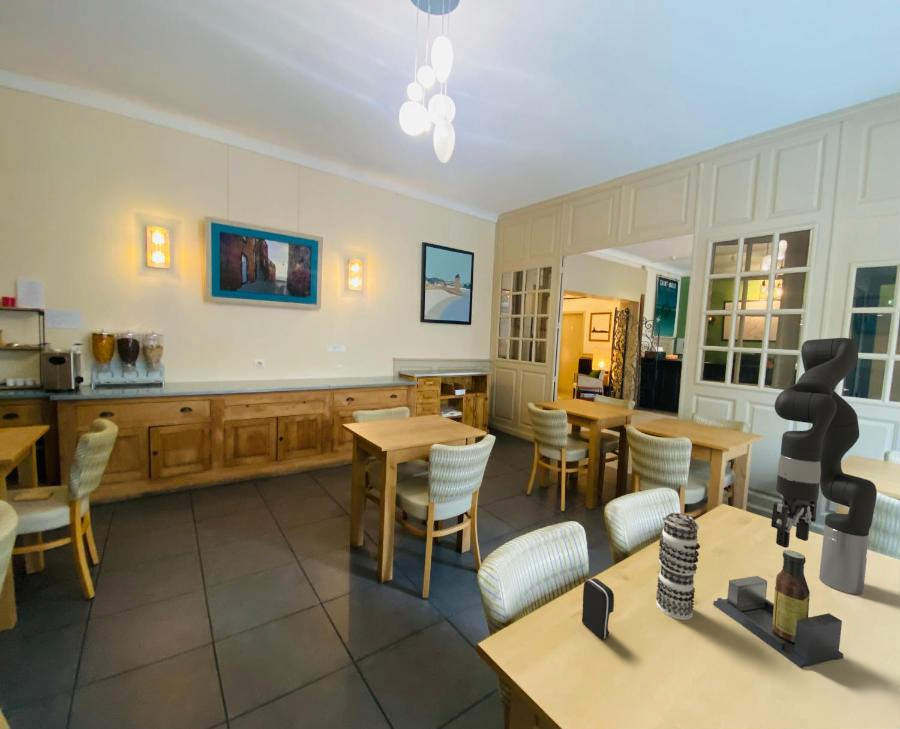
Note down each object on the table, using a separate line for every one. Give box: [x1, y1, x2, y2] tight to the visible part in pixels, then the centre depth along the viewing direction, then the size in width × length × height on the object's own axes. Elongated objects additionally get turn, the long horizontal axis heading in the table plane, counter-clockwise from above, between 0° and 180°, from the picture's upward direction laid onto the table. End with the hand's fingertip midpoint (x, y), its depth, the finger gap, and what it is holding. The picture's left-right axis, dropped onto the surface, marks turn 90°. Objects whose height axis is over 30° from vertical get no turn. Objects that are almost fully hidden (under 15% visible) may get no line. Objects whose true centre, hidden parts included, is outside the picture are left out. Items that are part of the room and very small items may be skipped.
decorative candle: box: [655, 512, 701, 621], centre depth 103 cm, size 9×9×25 cm
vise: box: [712, 597, 844, 669], centre depth 97 cm, size 13×21×9 cm, turn 15°
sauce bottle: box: [773, 549, 811, 643], centre depth 93 cm, size 7×6×20 cm
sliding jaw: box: [726, 575, 768, 611], centre depth 103 cm, size 10×2×7 cm, turn 105°
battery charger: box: [581, 578, 615, 640], centre depth 95 cm, size 7×4×11 cm, turn 26°
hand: (792, 542), depth 94 cm, fingers open, 8 cm apart
